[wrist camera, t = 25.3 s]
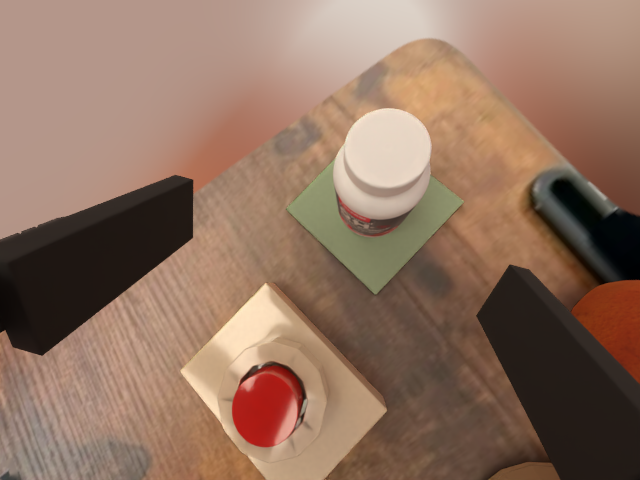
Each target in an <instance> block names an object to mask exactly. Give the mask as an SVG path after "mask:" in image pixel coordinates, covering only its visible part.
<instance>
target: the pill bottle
mask: <svg viewBox="0 0 640 480" xmlns="http://www.w3.org/2000/svg"><path fill="white" fill-rule="evenodd" d="M431 147H432V146H431V140H430V136H429V134H428V131H427V129H426V128H425V126H424V125H423V124H422V122H421V121H420V120H419V119H417V118H416V117H415V116H413V115H412V114H410V113H408V112H406V111H403V110H399V109H392V108H385V109H379V110H375V111H372V112H369V113H368V114H366V115H364V116H362V117H361V118H360V119H358V120H357V121H356V122H355V123H354V124H353V126H352V127H351V129H350V130H349V132H348V135H347V137H346V140H345V143H344V145H343V146H342V147H341V149H340V150H339V152H338V154H337V156H336V159H335V163H334V168H333V183H334V187H335V193H336V200H337V207H338V211H339V215H340V217H341V219H342V221H343V223H344V224H345V225H346V226H347V227H348V228H349V229H350V230H351V231H352V232H354V233H356V234H358V235H360V236H364V237H370V238H374V237H381V236H384V235H387V234H389V233H391V232H392V231H393V230H395V229H396V228H397V227H398V226H399V225H400V224H401V223H402V222H403V221H404V220H405V218H406V217H407V216H408V214H409V213H410V212H411V211H412V210H413V208H414V207H415V206H416V205H417V204H418V203H419V201H420V200H421V199H422V197H423V195H424V194H425V191H426V189H427V187H428V184H429V180H430V162H429V160H430V156H431Z"/></svg>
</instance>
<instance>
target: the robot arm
mask: <svg viewBox="0 0 640 480" xmlns="http://www.w3.org/2000/svg"><path fill="white" fill-rule="evenodd" d="M192 238H193V180H192V179H189V178H185V177H181V176H177V175H174V176H171V177H169V178H166V179H164V180H161V181H159V182H156V183H153V184H151V185H148V186H145V187H143V188H140V189H137V190H135V191H132V192H130V193H127V194H125V195H122V196H119V197H116V198H114V199H111V200H109V201H106V202H103V203H101V204H98V205H96V206H93V207H91V208H88V209H85V210H83V211H80V212H77V213H75V214H72V215H69V216H66V217H61V218H56V219H54V220H51V221H49V222H46V223H43V224H40V225H38V227H37V228H36V227H33V228H30V229H27V230H24V231H22V233H21V234H19V233H16V234H14V235H11V236H9V237H6V238H3V239H1V240H0V333H1V332H2V331H4V330H6V332H7V335H8V337H9V339H10V342H11V344H12V346H13V347H14V348H18V349H21V350H24V351H28V352H31V353H35V354H38V355H41V356H42V355H44V354H45V353H46V352H47V351H49V350H50V349H51V348H53V347H54V346H55V345H56V344H58V343H59V342H60V341H62V340H63V339H64V338H65V337H67V336H68V335H69V334H71V333H72V332H73V331H74V330H76V329H77V328H78V327H79V326H81V325H82V324H83V323H85V322H86V321H87V320H88V319H90V318H91V317H92V316H94V315H95V314H96V313H97V312H99V311H100V310H101V309H102V308H104V307H105V306H106V305H108V304H109V303H110V302H111V301H113V300H114V299H115V298H117V297H118V296H119V295H120V294H122V293H123V292H124V291H126V290H127V289H128V288H129V287H131V286H132V285H133V284H134V283H136V282H137V281H138V280H140V279H141V278H142V277H143V276H145V275H146V274H147V273H149V272H150V271H151V270H152V269H154V268H155V267H156V266H157V265H159V264H160V263H161V262H163V261H164V260H165V259H166V258H168V257H169V256H170V255H172V254H173V253H174V252H175V251H177V250H178V249H179V248H181V247H182V246H183V245H184V244H186V243H187V242H188V241H189V240H191V239H192ZM476 316H477V318H478V320H479V322H480V324H481V326H482V328H483V330H484V332H485V334H486V336H487V337H488V339H489V341H490V343H491V345H492V347H493V349H494V351H495V353H496V355H497V357H498V359H499V361H500V363H501V365H502V367H503V369H504V371H505V373H506V375H507V377H508V378H509V380H510V382H511V384H512V386H513V388H514V390H515V392H516V394H517V396H518V398H519V400H520V402H521V404H522V406H523V408H524V410H525V412H526V414H527V416H528V418H529V419H530V421H531V423H532V425H533V427H534V429H535V431H536V433H537V435H538V437H539V439H540V441H541V443H542V445H543V447H544V449H545V451H546V453H547V455H548V457H549V459H550V460H551V462H552V464H553V466H554V468H555V470H556V472H557V474H558V476H559V478H560V480H640V384H639V383H638V382H637V381H636V380H635V379H634V378H633V377H632V375H631V374H630V373H629V372H628V371H627V370H626V369H625V368H624V367H623V366H622V365H621V364H620V363H619V362H618V361H617V360H616V359H615V358H614V357H613V356H612V355H611V354H610V353H609V352H608V351H607V350H606V349H605V348H604V347H603V346H602V344H601V343H600V342H599V341H598V340H597V339H596V338H595V337H594V336H593V335H592V334H591V333H590V332H589V331H588V330H587V329H586V328H585V327H584V326H583V325H582V324H581V323H580V322H579V321H578V320H577V319H576V318H575V317H574V316H573V315H572V313H571V312H570V311H569V310H568V309H567V308H566V307H565V306H564V305H563V304H562V303H561V302H560V301H559V300H558V299H557V298H556V297H555V296H554V295H553V294H552V293H551V292H550V291H549V290H548V289H547V288H546V287H545V286H544V285H543V283H542V282H541V281H540V280H539V279H538V278H537V277H536V276H535V275H534V274H533V273H532V272H531V271H530V270H529V269H525V268H521V267H518V266H514V265H509V266H508V268H507V269H506V271H505V272H504V274H503V276H502V277H501V279H500V280H499V282H498V283H497V285H496V286H495V288H494V289H493V291H492V292H491V294H490V296H489V297H488V299H487V300H486V302H485V303H484V305H483V306H482V308H481V309H480V311H479V312H478V314H477V315H476Z"/></svg>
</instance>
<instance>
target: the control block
mask: <svg viewBox="0 0 640 480" xmlns="http://www.w3.org/2000/svg"><path fill="white" fill-rule="evenodd" d="M271 365H274V366H280V367H283V368H285V369H287V370H288V371H290V372H291V373H292V374H293V375H294V376H295V377H296V378H297V380H298V382H299V384H300V386H301V389H302V393H303V406H302V410H301V413H300V415H299V418H298V420H297V423H296V425H295V428H294V430H293V431H292V433H291V434H290V436H289V437H288V438H287V439H286V440H285V441H283V442H282V443H280V444H278V445H276V446H273V447H258V446H255V445H252V444H250V443H249V442H247V441H246V440H245V439H243V437H242V436H241V435H240V434H239V432H238V431H237V429H236V427H235V425H234V422H233V418H232V402H233V398H234V395H235V393H236V391H237V389H238V388H239V386H240V385H241V384H242V383H243V382H244V381H245V380H246V379H247V378H248V377H249V376H250V375H252V374H253V373H254V372H255V371H256V370H258V369H260V368H262V367H265V366H271ZM180 373H181V374H182V375H183V376H184V378H185V379H186V380H187V381H188V383H189V384H190V385H191V386H192V388H193V389H194V390H195V392H196V393H197V394H198V395H199V397H200V398H201V399H202V400H203V402H204V403H205V404H206V405H207V407H208V408H209V409H210V410H211V412H212V413H213V414H214V415H215V417H216V418H217V419H218V420H219V422H220V423H221V424H222V427H223V430H224V431H225V432H226V434H227V435H228V436H229V437H230V439H231V440H232V441H233V442H234V444H235V445H236V446H237V448H238V449H239V450H240V451H241V452H242V453H243V454H245V455H247V457H248V458H249V459H250V460H251V462H252V463H253V464H254V465H255V467H256V468H257V469H258V470H259V472H260V473H261V474H262V475H263V477H264V478H265V479H266V480H324V479H325V478H326V476H327V475H328V474H329V473H330V472H331V471H332V470H333V469H334V468H335V467H336V466H337V465H338V464H339V462H340V461H341V460H342V459H343V458H344V457H345V456H346V455H347V454H348V453H349V452H350V451H351V449H352V448H353V447H354V446H355V445H356V444H357V443H358V442H359V441H360V440H361V439H362V438H363V437H364V435H365V434H366V433H367V432H368V431H369V430H370V429H371V428H372V427H373V426H374V425H375V424H376V422H377V421H378V420H379V419H380V418H381V417H382V416H383V415H384V414H385V413H386V412H387V408H386V404H385V401H384V398H383V396H382V395H381V394H380V393H379V392H378V391H377V390H376V389H375V388H374V387H373V386H372V385H371V384H370V383H369V382H368V381H367V380H366V379H365V378H364V376H363V375H362V374H361V373H360V372H359V371H358V370H357V369H356V368H355V367H354V366H353V365H352V364H351V363H350V362H349V361H348V360H347V359H346V358H345V357H344V356H343V355H342V354H341V352H340V351H339V350H338V349H337V348H336V347H335V346H334V345H333V344H332V343H331V342H330V341H329V340H328V339H327V338H326V337H325V336H324V335H323V334H322V333H321V332H320V331H319V330H318V328H317V327H316V326H315V325H314V324H313V323H312V322H311V321H310V320H309V319H308V318H307V317H306V316H305V315H304V314H303V313H302V312H301V311H300V310H299V309H298V308H297V307H296V306H295V304H294V303H293V302H292V301H291V300H290V299H289V298H288V297H287V296H286V295H285V294H284V293H283V292H282V291H281V290H280V289H279V288H278V287H277V286H276V285H275V284H274V283H265V284H264V285H263V286H262V287H261V288H260V289H259V290H258V291H257V292H256V293H255V294H254V295H253V296H252V297H251V298H250V299H249V300H248V301H247V302H246V303H245V304H244V305H243V306H242V307H241V308H240V309H239V310H238V311H237V312H236V313H235V314H234V315H233V317H232V318H231V319H230V320H229V321H228V322H227V323H226V324H225V325H224V326H223V327H222V328H221V329H220V330H219V331H218V332H217V333H216V334H215V335H214V336H213V337H212V338H211V339H210V340H209V341H208V342H207V343H206V344H205V345H204V346H203V347H202V348H201V349H200V350H199V351H198V352H197V354H196V355H195V356H194V357H193V358H192V359H191V360H190V361H189V362H188V363H187V364H186V365H185V366H184V367H183V368H182V369H181V370H180Z"/></svg>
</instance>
